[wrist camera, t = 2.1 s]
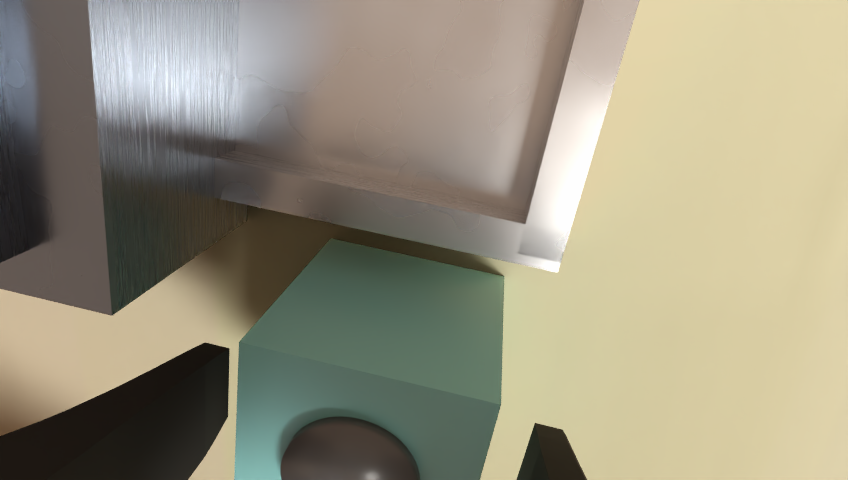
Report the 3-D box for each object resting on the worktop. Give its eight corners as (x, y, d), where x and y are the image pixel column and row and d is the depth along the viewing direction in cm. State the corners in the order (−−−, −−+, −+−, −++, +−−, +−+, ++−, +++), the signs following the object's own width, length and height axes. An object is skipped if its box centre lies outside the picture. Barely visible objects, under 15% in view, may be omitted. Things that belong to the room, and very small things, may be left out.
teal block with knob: (468, 415, 16) (448, 598, 11) (316, 378, 17) (225, 538, 11) (504, 275, 14) (500, 415, 9) (331, 237, 15) (231, 350, 10)
